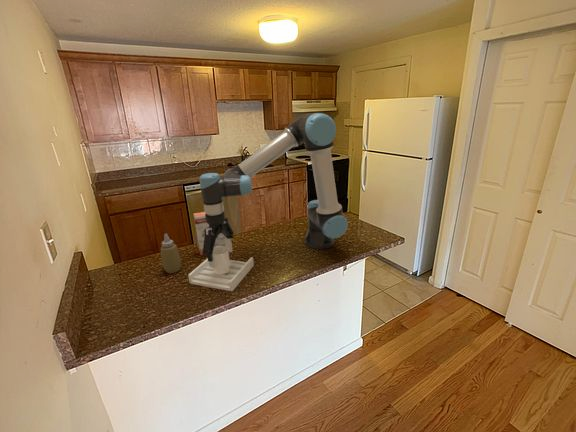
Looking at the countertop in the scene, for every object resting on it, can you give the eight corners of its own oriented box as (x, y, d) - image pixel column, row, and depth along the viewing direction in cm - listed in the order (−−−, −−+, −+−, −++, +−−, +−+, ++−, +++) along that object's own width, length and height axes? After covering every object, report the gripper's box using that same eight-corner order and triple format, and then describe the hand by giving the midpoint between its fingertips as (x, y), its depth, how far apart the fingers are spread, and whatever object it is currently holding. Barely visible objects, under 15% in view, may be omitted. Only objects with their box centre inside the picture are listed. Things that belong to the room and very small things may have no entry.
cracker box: (200, 256, 137) (193, 217, 130) (199, 251, 143) (192, 212, 135) (228, 250, 142) (223, 212, 135) (226, 245, 147) (221, 208, 140)
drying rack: (253, 265, 127) (253, 257, 126) (232, 291, 110) (231, 282, 108) (215, 260, 133) (214, 252, 132) (189, 283, 116) (188, 274, 114)
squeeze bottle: (186, 266, 129) (179, 231, 122) (174, 276, 121) (166, 239, 115) (172, 264, 131) (164, 229, 125) (159, 273, 124) (151, 237, 118)
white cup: (233, 266, 123) (230, 246, 120) (227, 276, 116) (224, 255, 112) (216, 265, 124) (213, 245, 121) (209, 275, 117) (206, 254, 113)
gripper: (222, 202, 123) (228, 244, 131) (186, 223, 101) (196, 273, 109) (237, 203, 121) (242, 246, 129) (204, 225, 99) (213, 276, 107)
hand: (221, 259), depth 119 cm, fingers open, 13 cm apart
